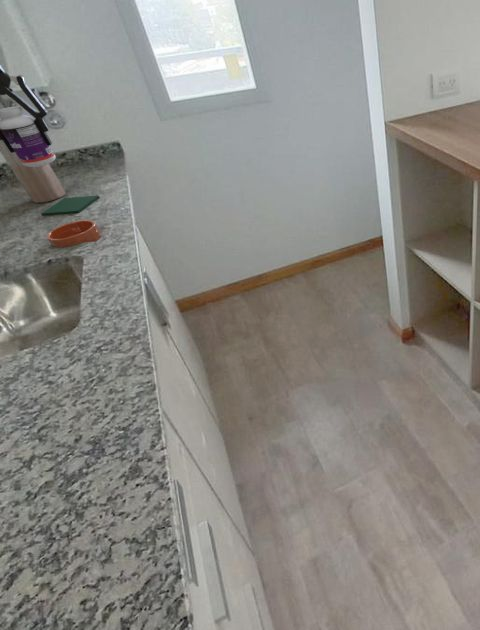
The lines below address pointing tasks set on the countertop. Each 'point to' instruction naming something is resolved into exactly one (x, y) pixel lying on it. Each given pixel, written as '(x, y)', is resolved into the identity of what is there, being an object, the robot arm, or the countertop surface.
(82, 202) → the mat
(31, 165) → the pill bottle
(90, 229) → the bowl
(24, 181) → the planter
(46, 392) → the countertop surface
